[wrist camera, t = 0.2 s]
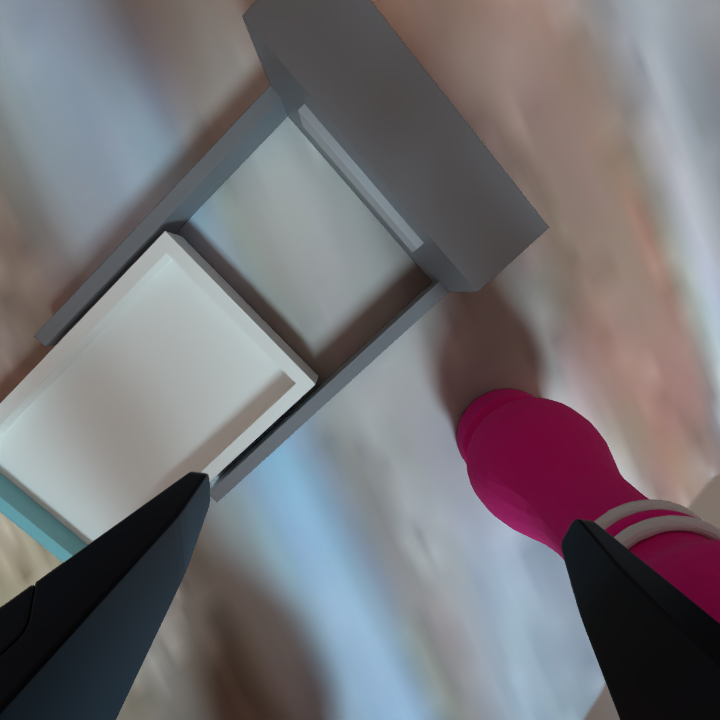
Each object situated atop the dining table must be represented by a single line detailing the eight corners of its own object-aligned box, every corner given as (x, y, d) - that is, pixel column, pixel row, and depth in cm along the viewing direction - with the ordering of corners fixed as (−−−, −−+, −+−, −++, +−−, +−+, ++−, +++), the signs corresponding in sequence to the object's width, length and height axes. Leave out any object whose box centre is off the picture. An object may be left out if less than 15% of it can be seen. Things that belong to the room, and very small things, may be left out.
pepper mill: (477, 500, 26) (860, 1147, 6) (430, 413, 25) (725, 881, 5) (573, 452, 26) (1310, 995, 6) (529, 360, 24) (1277, 659, 5)
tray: (114, 565, 26) (94, 587, 24) (-26, 450, 24) (-59, 464, 22) (318, 376, 24) (315, 384, 22) (181, 236, 22) (165, 230, 20)
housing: (227, 485, 25) (181, 558, 19) (60, 332, 23) (-61, 349, 17) (490, 246, 23) (549, 227, 16) (329, 50, 21) (317, -68, 14)
